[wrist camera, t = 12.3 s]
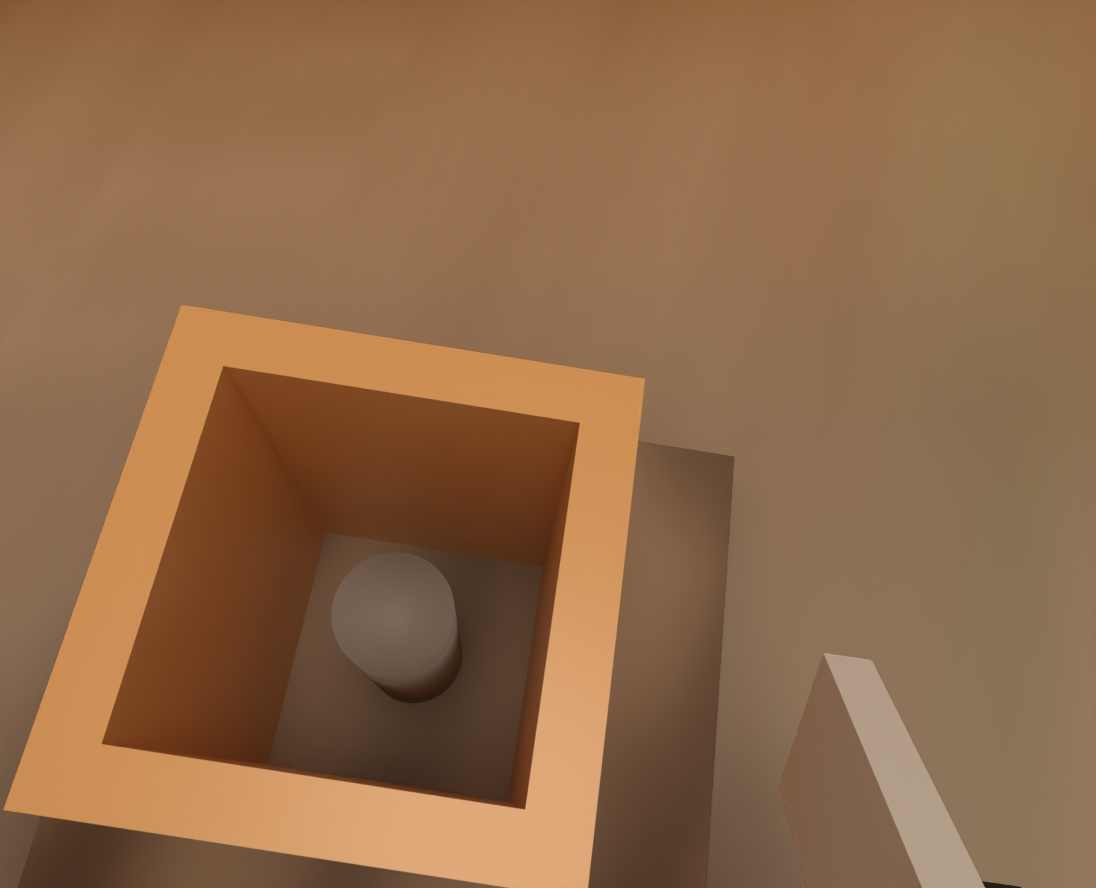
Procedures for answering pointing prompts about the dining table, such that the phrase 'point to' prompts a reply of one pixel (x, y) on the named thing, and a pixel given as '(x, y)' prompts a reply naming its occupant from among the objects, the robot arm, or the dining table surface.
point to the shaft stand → (478, 699)
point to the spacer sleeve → (287, 578)
